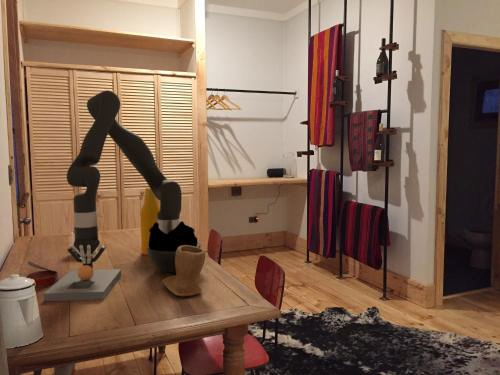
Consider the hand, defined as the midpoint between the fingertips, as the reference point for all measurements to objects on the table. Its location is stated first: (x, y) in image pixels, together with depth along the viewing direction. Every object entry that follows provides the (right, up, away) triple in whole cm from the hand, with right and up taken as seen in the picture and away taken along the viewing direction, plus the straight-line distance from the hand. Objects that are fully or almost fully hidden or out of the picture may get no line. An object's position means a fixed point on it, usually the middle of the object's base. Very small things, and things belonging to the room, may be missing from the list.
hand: (88, 273), depth 147 cm
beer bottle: (+12, 0, +42) cm, 44 cm away
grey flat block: (+1, -4, -3) cm, 5 cm away
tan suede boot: (+35, -5, -7) cm, 36 cm away
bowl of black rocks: (+27, -2, +14) cm, 31 cm away
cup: (-18, 0, +42) cm, 46 cm away
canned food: (-17, -4, +2) cm, 17 cm away
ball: (+1, +1, -4) cm, 4 cm away
